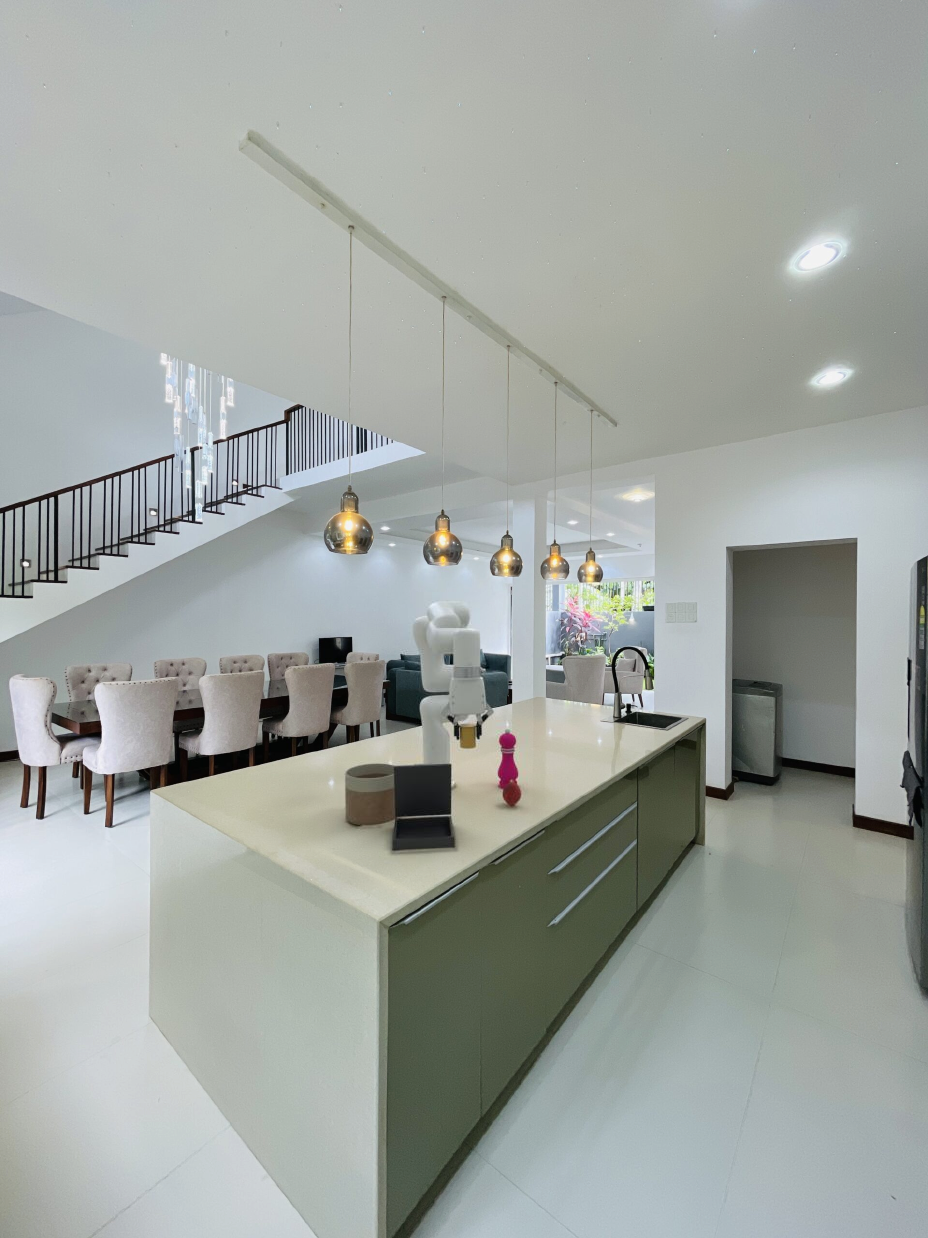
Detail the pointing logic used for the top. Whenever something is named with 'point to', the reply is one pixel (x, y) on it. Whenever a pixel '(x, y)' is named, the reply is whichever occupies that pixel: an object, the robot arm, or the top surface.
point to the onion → (511, 793)
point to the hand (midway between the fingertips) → (467, 738)
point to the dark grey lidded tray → (423, 833)
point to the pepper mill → (507, 759)
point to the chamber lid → (422, 790)
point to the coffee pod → (467, 735)
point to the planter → (370, 794)
